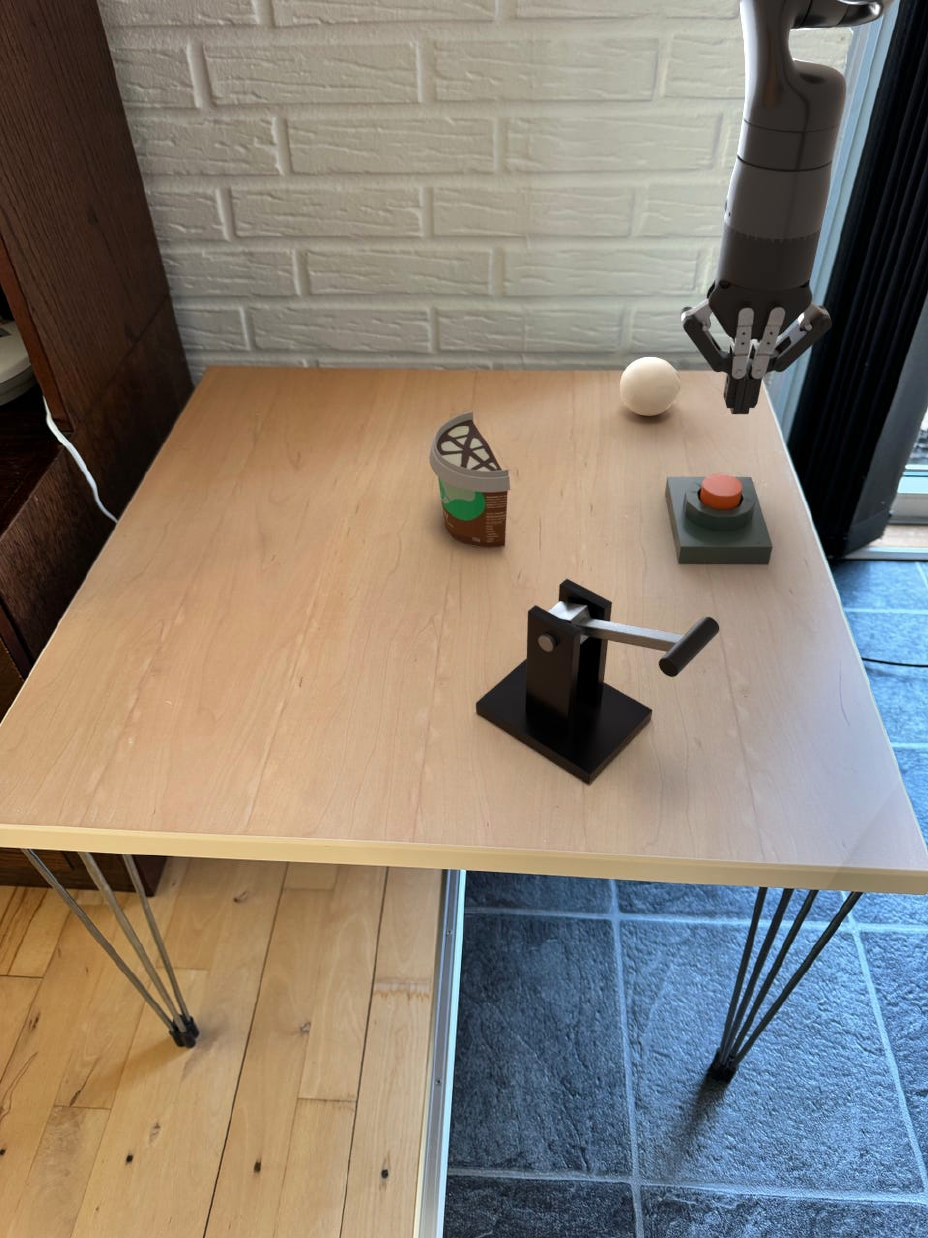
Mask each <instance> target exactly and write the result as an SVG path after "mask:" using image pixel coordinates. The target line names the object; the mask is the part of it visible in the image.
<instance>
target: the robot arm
mask: <svg viewBox="0 0 928 1238" xmlns="http://www.w3.org/2000/svg"><path fill="white" fill-rule="evenodd" d="M738 2H739V3H738V4H739V9H740V19H741V25H742V27H741V28H742V34H743V35H742V36H743V45H744V63H745V98H744V106H743V114H742V119H741V120H742V121H741V127H740V133H739V141H738V147H737V155H736V159H735V163H734V167H733V170H732V173H731V177H730V181H729V185H728V190H727V191H728V192H727V196H726V199H725V202H724V207H723V209H724V217H723V218H724V219H723V225H722V232H721V239H720V246H719V252H718V259H717V266H716V272H715V276H714V277H715V278H714V280H713V282H712V284H711V285H710V286H709V288H708V289H707V292H706V299H704V300H703V301H701V302H699V303H698V304H697V305H695V306H694V307H692V306H684V307H682V308H681V310H680V311H679V316H680V320H681V324H682V328H683V330H684V332H686V335H687V336H688V337H689V339H690V340H691V342H692V343H693V344H694V346H695V347H696V348H697V349H698V351H699V353H700V354H701V355H702V357H703V359H705V361H706V363H708V366H710V368H711V370H713V372H714V373H722V372H723V373H725V374H726V376H725V382H724V389H723V393H722V395H723V399H724V403H725V407H726V409H729V410H730V413H731V415H749V413H750V409H755V408H756V406H757V405H758V403H759V397H760V393H761V387H762V381H763V378H764V377H765V375H766V374H768V373H772V372H776V373H784V371H786V370H787V369H788V368H790V366H791V365H792V364H794V363H795V362H796V361H797V360H799V358H800V357H801V356H802V355H804V353H806V352H807V351H808V350H809V349H810V348H811V347H812V346H813V345H814V344H816V342H817V341H818V340H820V339H821V338H822V337H823V336H824V335H825V334H826V333H827V332H828V331H829V330H831V328H832V327H833V320H832V319H831V316H830V314H829V312H828V310H827V309H826V308H825V307H826V306H824V305H818V304H817V303H816V302H814V301H813V291H812V289H811V285H810V283H811V279H812V275H813V269H814V265H815V261H816V260H815V259H816V256H817V252H818V251H817V250H818V246H819V242H820V238H821V233H822V228H823V223H824V219H825V215H826V214H825V213H826V210H827V205H828V200H829V195H830V190H831V181H832V180H831V178H832V166H833V160H834V156H835V151H836V148H837V147H836V146H837V143H838V137H839V133H840V128H841V124H842V118H843V114H844V109H845V104H846V98H847V88H848V87H847V80H846V79H845V76H844V75H843V74H842V73H841V71H839V70H837V69H836V68H834V67H832V66H829V65H827V64H822V63H817V62H814V61H806V60H803V59H798V58H795V57H792V54H791V50H790V34H791V31H803V30H804V31H806V30H820V29H822V30H823V29H838V28H839V29H840V28H841V29H843V28H852V27H853V28H854V27H857V26H862V25H865V24H869V23H872V22H875V21H877V20H878V19H880V18H882V17H883V16H884V15H885V14H886V13H887V11H888V10H889V8H890V7H891V6H892V4H893V3H894V2H895V0H738ZM712 314H713V315H714V317H715V319H716V320H717V322H718V323H719V325H720V326H721V328H722V329H723V332H724V333H725V334H726V335H727V337H728V352H727V351H724V350H723V349H722V347H721V346H720V345H719V343H718V342H717V341H716V339H715V338H714V336H713V335H712V334H711V332H710V331H709V329H711V327H712V322H711V315H712ZM796 321H797V324H795V325H794V326H793V327H792V328H791V329H790V330H789V331H788V332H787V333H786V334H785V335H784V336H783V337H782V338H781V339H780V340H778V337H781V335H783V334H784V333H785V331H787V329H789V328H790V327H791V326H792V325H793V324H794V323H795V322H796ZM777 341H778V342H777Z"/></svg>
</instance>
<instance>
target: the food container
mask: <svg viewBox="0 0 928 1238" xmlns="http://www.w3.org/2000/svg"><path fill="white" fill-rule="evenodd" d="M429 451H430V452H429V457H428V458H429V465H430V467H431V470H432V471H433V473H434V474H435V475H436V476H437V480H438V487H439V494H440V501H441V508H442V513H443V515H442V517H443V521H444V523H443V524H444V527H445V530H446V531H447V533H448V534H449V535H450V536H451V537H452V538H454V539H455V540H457V541H458V542H460V543H463V544H465V545H469V546H473V547H478V548H497V547H503V546H505V545H506V532H507V511H508V493H509V491H511V483H510V476H509V475H510V473H509V469H502V468H501V466H500V464H499V462H498V461H497V458H496V456H495V454H494V453H493V450H492V448H491V446H490V445H489V443H488V442H487V440H486V439H485V438H484V437H483V435H482V434H481V432H480V431H479V428H478V427H477V426H476V424H475V422H474V411H473V410H472V411H469V412H468V411H467V412H465V413H461V414H458V415H456V416H453V417H452V418H450V419H448V420H447V421H445V422H444V423H443V424H442V425H440V426H439V428H438V429H437V431H436V432H435V434H434V437H433V439H432V441H431V447H430V450H429Z"/></svg>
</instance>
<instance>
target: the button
mask: <svg viewBox="0 0 928 1238" xmlns="http://www.w3.org/2000/svg"><path fill="white" fill-rule="evenodd" d="M705 477H706V478H705V479H704V480H703V482H702V487H701V493H700V499H701V502H702V503H703V504H704V505H706V506H708V507H711V508H714V509H718V510H730V509H733V508H735V507H737V506H738V504H739V503H740V498H741V494H742V489H743V487H742V484H741V482H740V481H739V480H738V479H736V478H735V477H736V476H732V475H729V474H725V473H714V474H711V475H708V476H705Z"/></svg>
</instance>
